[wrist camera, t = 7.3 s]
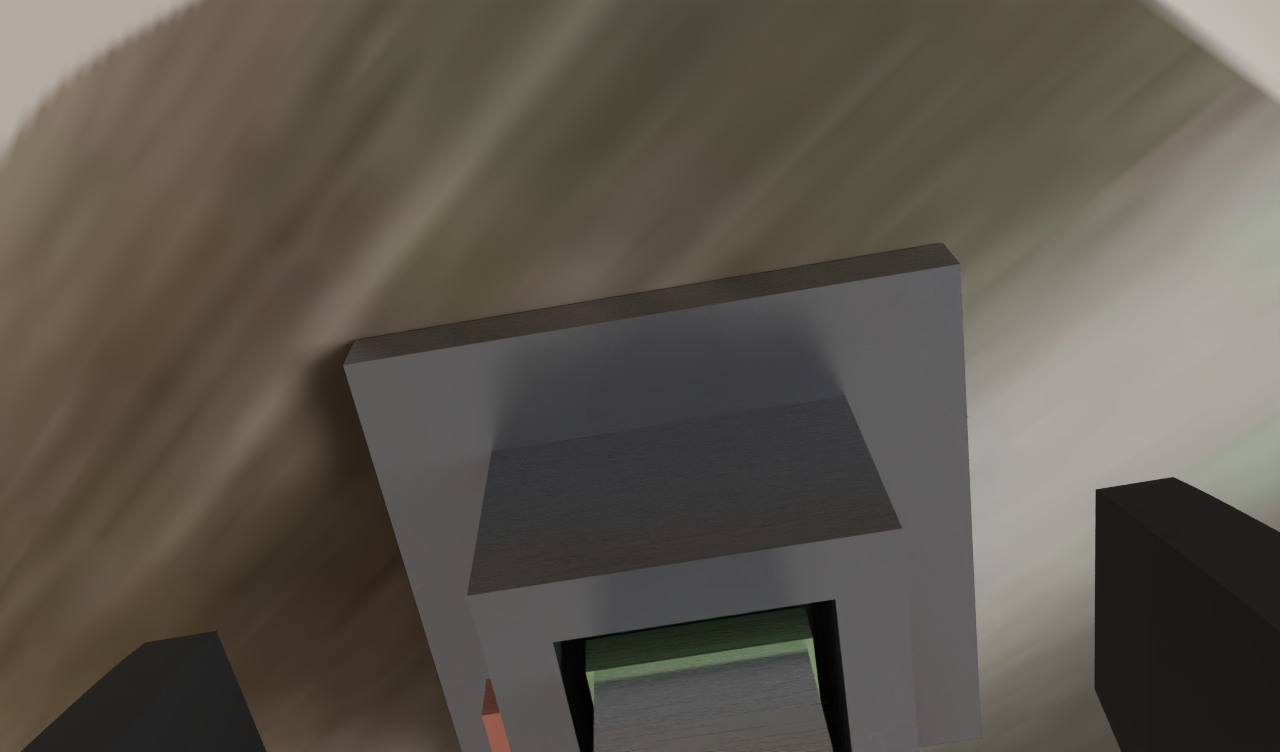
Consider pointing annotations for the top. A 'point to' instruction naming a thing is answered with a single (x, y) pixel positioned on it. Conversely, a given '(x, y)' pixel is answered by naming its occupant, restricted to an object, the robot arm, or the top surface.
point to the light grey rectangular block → (709, 686)
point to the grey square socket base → (690, 490)
